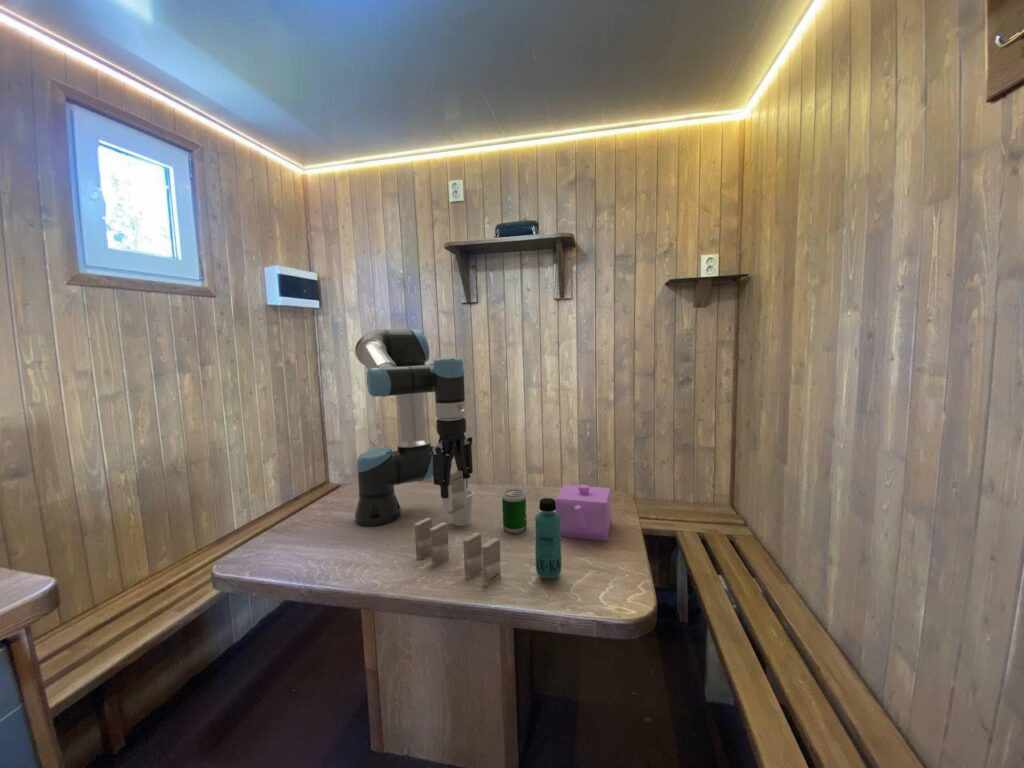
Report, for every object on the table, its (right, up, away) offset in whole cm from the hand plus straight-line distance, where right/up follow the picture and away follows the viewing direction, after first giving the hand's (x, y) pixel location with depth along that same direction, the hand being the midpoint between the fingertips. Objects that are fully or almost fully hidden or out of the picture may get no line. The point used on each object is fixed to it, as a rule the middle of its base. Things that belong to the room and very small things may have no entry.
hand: (455, 505), depth 111 cm
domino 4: (+5, -17, -2) cm, 18 cm away
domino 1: (-10, -16, +8) cm, 21 cm away
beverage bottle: (+24, -17, -5) cm, 30 cm away
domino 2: (-5, -17, +5) cm, 18 cm away
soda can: (+16, -14, +23) cm, 32 cm away
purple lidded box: (+37, -14, +20) cm, 45 cm away
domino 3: (0, -1, 0) cm, 1 cm away
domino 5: (+10, -17, -6) cm, 21 cm away
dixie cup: (-2, -14, +29) cm, 33 cm away
